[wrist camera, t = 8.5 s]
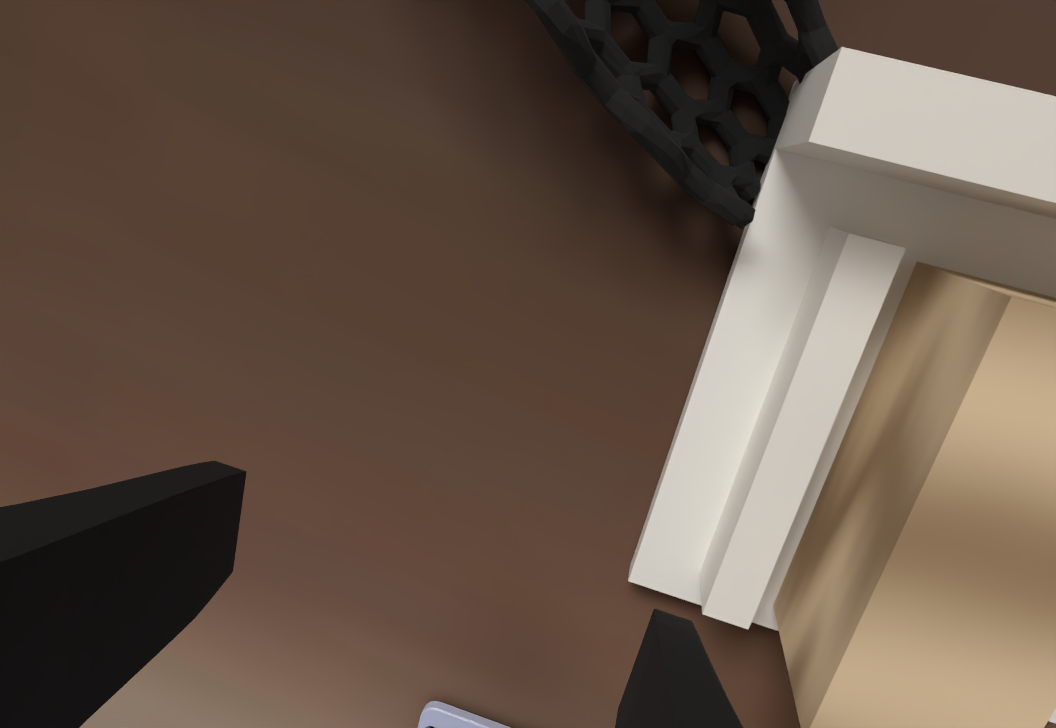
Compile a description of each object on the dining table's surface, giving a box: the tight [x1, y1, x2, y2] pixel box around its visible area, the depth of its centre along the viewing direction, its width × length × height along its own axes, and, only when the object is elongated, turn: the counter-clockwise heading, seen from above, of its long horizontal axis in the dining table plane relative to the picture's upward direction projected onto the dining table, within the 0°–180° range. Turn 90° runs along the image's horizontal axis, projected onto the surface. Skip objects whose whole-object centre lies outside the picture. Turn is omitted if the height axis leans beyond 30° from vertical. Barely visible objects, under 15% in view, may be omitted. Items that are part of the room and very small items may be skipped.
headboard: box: [628, 47, 1056, 723], centre depth 16 cm, size 14×12×5 cm
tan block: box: [773, 261, 1056, 728], centre depth 16 cm, size 10×4×5 cm, turn 166°
